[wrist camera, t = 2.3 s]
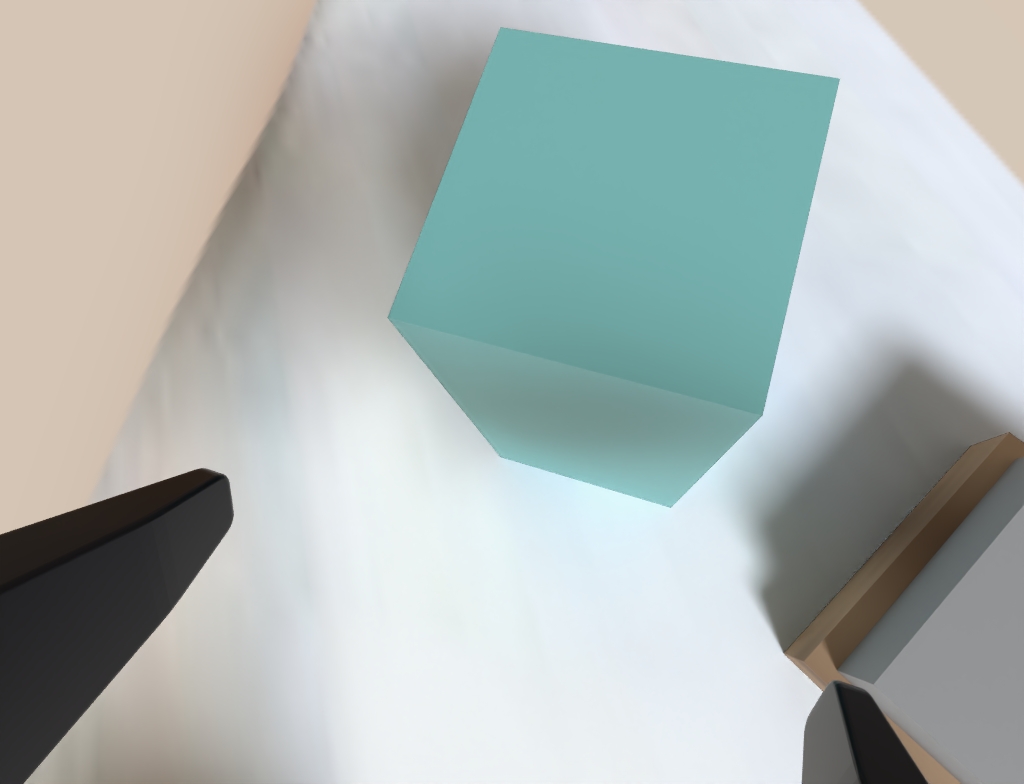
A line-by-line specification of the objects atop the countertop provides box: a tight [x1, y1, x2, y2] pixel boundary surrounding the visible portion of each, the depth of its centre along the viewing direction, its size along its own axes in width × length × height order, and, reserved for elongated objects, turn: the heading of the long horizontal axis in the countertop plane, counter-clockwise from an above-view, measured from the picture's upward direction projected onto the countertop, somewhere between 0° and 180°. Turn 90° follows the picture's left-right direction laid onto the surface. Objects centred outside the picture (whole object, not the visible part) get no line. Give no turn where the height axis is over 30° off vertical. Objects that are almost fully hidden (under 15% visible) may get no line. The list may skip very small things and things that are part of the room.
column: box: [388, 27, 840, 508], centre depth 16 cm, size 6×6×12 cm
